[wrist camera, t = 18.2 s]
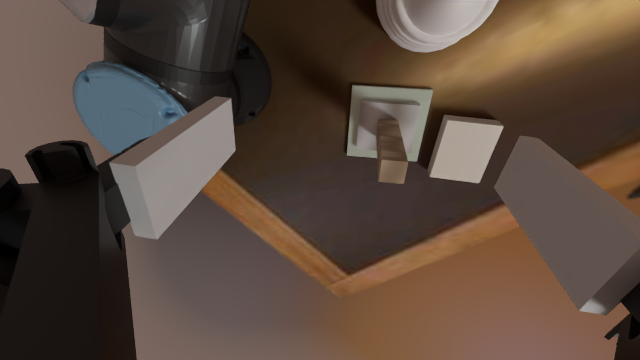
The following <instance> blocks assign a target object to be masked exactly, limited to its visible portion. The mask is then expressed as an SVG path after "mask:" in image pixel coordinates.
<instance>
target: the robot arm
mask: <svg viewBox="0 0 640 360" xmlns="http://www.w3.org/2000/svg"><path fill="white" fill-rule="evenodd" d="M59 1H60V2H61V3H62V4H63V5H64V6H66V7H67V8H68V9H69V10H70V11H71V12H72V13H73V14H74V15H75V16H76V17H77V18H78V19H79V20H80V21H82V22H85V23H88V24H94V25H98V26H103V27H104V60H103V61H99V62H94V63H91V64H90V65H88V66H87V68H86V69H85V70H84V71H81V72H80V73H79V74H78V75H77V77H76V79H75V81H74V84H73V100H74V104H75V107H76V110H77V112H78V115H79V117H80V119H81V120H82V122H83V124H84V125H85V127H86V128H87V129H88V131H89V132H90V133H91V135H92V136H94V137H95V138H96V139H97V140H98V141H99V142H100V144H101V145H102V146H103V147H104V148H105V149H107V150H108V151H109V152H111V153H112V154H113V155H114V156H113V157H111V158H109V159H108V160H106V161H104V162H103V163H101V164H99V165H98V166H96V164H95V161H94V158H93V156H92V153H91V150H90V148H89V146H88V144H87V143H85V142H82V141H74V140H70V141H58V142H53V143H48V144H45V145H42V146H38V147H36V148H34V149H32V150H30V151H29V152H28V153H27V154H26V155H25V157H26V159H27V161H28V163H29V165H30V166H31V168H32V170H33V172H34V174H35V176H36V178H37V180H38V181H39V183H31V184H18V182H17V181H16V179H15V177H14V176H13V174H12V173H11V171H10V170H6V169H0V360H137V359H136V348H135V338H134V328H133V318H132V309H131V298H130V288H129V278H128V269H127V258H126V248H125V238H124V236H123V233H122V229H123V228H124V227H125V226H126V225H127V224H128V223H129V222H130V223H131V226H132V228H133V231H134V234H135V236H140V237H146V238H152V239H158V238H159V237H160V236H161V235H162V233H163V232H164V231H165V230H166V229H167V228H168V227H169V225H170V224H171V223H172V222H173V221H174V220H175V218H176V217H177V216H178V215H179V214H180V213H181V212H182V211H183V209H184V208H185V207H186V206H187V205H188V204H189V203H190V202H191V200H192V199H193V198H194V197H195V196H196V195H197V194H198V193H199V191H200V190H201V189H202V188H203V187H204V186H205V185H206V183H207V182H208V181H209V180H210V179H211V178H212V177H213V176H214V174H215V173H216V172H217V171H218V170H219V169H220V168H221V166H222V165H223V164H224V163H225V162H226V161H227V160H228V159H229V157H230V156H231V155H232V154H233V153H234V152H235V139H234V127H233V126H238V125H242V124H245V123H247V122H249V121H251V120H252V119H254V118H255V117H256V116H257V115H258V114H259V113H260V112H261V111H262V110H263V109H264V107H265V106H266V104H267V102H268V100H269V97H270V93H271V74H270V69H269V66H268V63H267V61H266V59H265V57H264V55H263V53H262V51H261V50H260V49H259V47H258V46H257V45H256V44H255V43H254V41H253V40H251V39H250V38H249V37H248V36H247V35H245V34H244V33H242V32H243V28H244V24H245V20H246V16H247V13H248V9H249V5H250V1H251V0H59ZM494 188H495V190H496V191H497V193H498V194H499V196H500V197H501V198H502V200H503V201H504V203H505V204H506V206H507V207H508V209H509V210H510V212H511V213H512V214H513V216H514V217H515V219H516V220H517V222H518V223H519V225H520V226H521V227H522V229H523V230H524V232H525V233H526V235H527V236H528V238H529V239H530V241H531V242H532V243H533V245H534V246H535V248H536V249H537V251H538V252H539V253H540V255H541V256H542V258H543V259H544V261H545V262H546V264H547V265H548V267H549V268H550V269H551V271H552V272H553V274H554V275H555V277H556V278H557V280H558V281H559V282H560V284H561V285H562V287H563V288H564V290H565V291H566V293H567V294H568V296H569V297H570V298H571V300H572V301H573V303H574V304H575V306H576V307H577V308H578V310H579V311H584V312H590V313H596V314H602V315H607V314H608V313H609V312H610V311H611V310H613V309H614V308H615V306H617V305H618V304H619V303H620V302H622V304H623V305H624V306H625V307H626V308H627V310H628V311H629V312H630V314H629V315H627V316H626V317H625V318H624V319H623V320H622V321H621V322H620V323H619V324H617V325H616V326H615V327H614V328H613V329H612V330H610V331H609V332H608V333H607V334H606V336H605V338H607V339H608V340H609V339H611V338H612V337H618V341H617V344H616V345H617V347H616V352H615V358H614V360H640V218H639V217H637V216H636V215H635V214H634V213H632V212H631V211H630V210H629V209H627V208H626V207H625V206H624V205H622V204H621V203H620V202H618V201H617V200H616V199H615V198H613V197H612V196H611V195H610V194H608V193H607V192H606V191H605V190H603V189H602V188H601V187H599V186H598V185H597V184H596V183H594V182H593V181H592V180H591V179H589V178H588V177H587V176H586V175H584V174H583V173H582V172H580V171H579V170H578V169H577V168H575V167H574V166H573V165H572V164H570V163H569V162H568V161H567V160H565V159H564V158H563V157H561V156H560V155H559V154H558V153H556V152H555V151H554V150H553V149H551V148H550V147H549V146H548V145H546V144H545V143H544V142H542V141H541V140H540V139H539V138H533V137H526V136H520V137H519V139H518V141H517V143H516V145H515V147H514V149H513V151H512V153H511V155H510V157H509V159H508V161H507V163H506V165H505V167H504V169H503V171H502V173H501V175H500V177H499V179H498V181H497V183H496V185H495V187H494Z"/></svg>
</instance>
